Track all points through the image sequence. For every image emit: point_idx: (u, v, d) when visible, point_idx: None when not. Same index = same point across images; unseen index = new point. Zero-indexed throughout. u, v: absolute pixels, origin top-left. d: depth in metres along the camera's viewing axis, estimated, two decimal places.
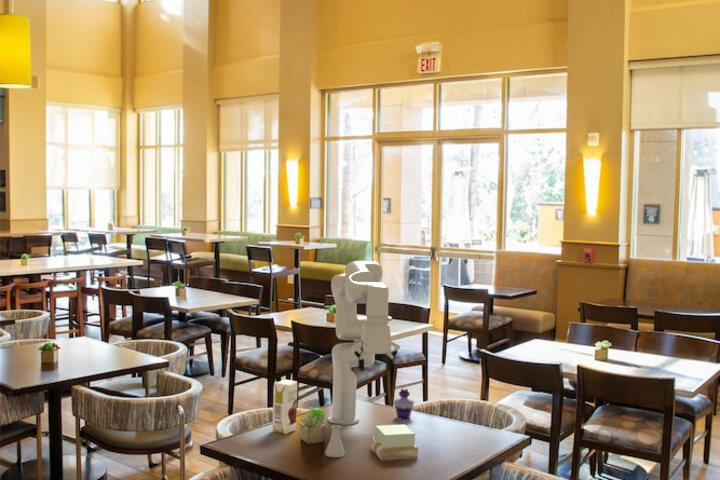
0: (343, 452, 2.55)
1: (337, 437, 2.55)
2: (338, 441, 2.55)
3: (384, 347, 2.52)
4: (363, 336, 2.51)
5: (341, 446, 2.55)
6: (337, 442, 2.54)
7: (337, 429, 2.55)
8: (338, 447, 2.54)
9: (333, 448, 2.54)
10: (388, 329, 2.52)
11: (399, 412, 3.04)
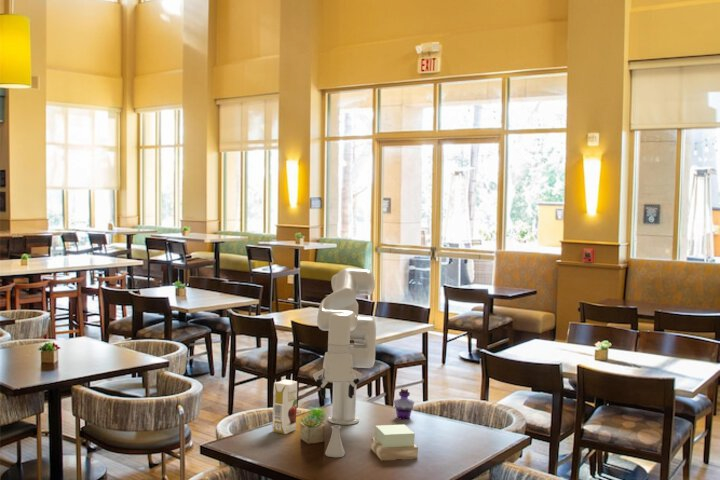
0: (343, 452, 2.55)
1: (337, 437, 2.55)
2: (338, 441, 2.55)
3: (346, 375, 2.53)
4: (325, 364, 2.53)
5: (341, 446, 2.55)
6: (337, 442, 2.54)
7: (337, 429, 2.55)
8: (338, 447, 2.54)
9: (333, 448, 2.54)
10: (350, 357, 2.54)
11: (399, 412, 3.04)
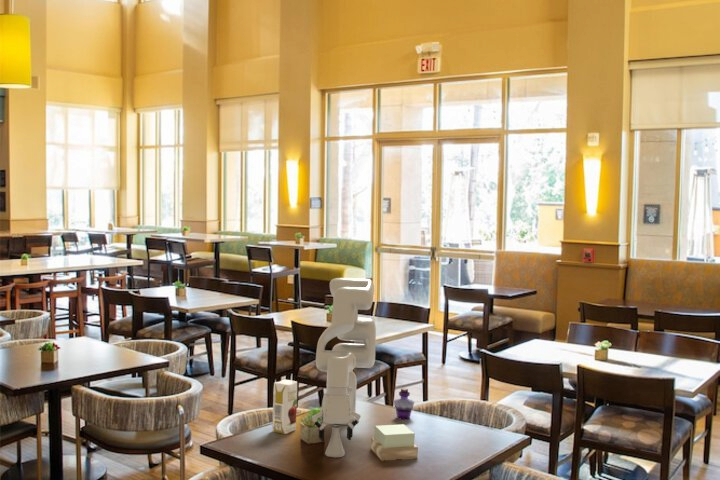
0: (343, 452, 2.55)
1: (337, 437, 2.55)
2: (338, 441, 2.55)
3: (344, 417, 2.54)
4: (323, 406, 2.53)
5: (341, 446, 2.55)
6: (337, 442, 2.54)
7: (337, 429, 2.55)
8: (338, 447, 2.54)
9: (333, 448, 2.54)
10: (348, 399, 2.54)
11: (399, 412, 3.04)
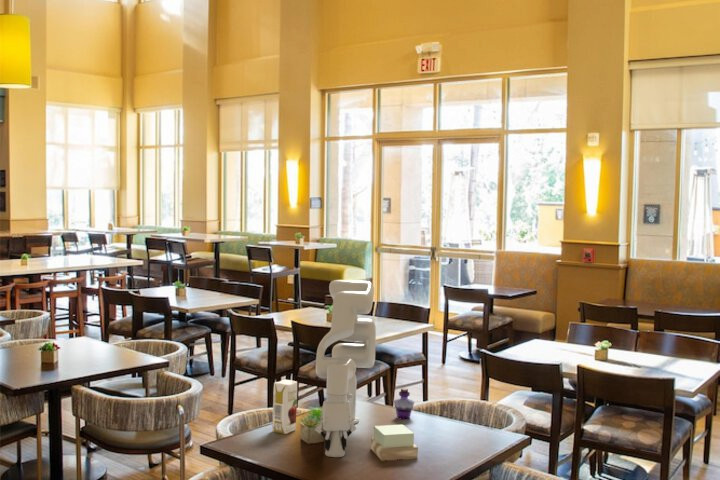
0: (343, 452, 2.55)
1: (337, 437, 2.55)
2: (338, 441, 2.55)
3: (344, 424, 2.54)
4: (323, 414, 2.54)
5: (341, 446, 2.55)
6: (337, 442, 2.54)
7: None
8: (338, 447, 2.54)
9: (333, 448, 2.54)
10: (348, 406, 2.55)
11: (399, 412, 3.04)
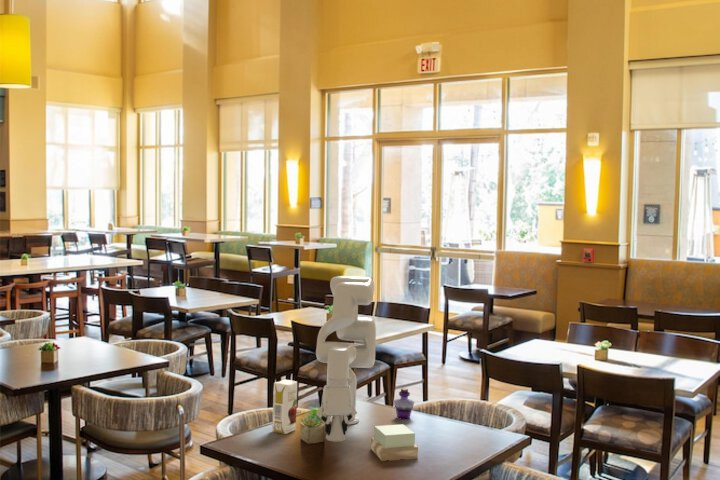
0: (344, 436, 2.56)
1: (338, 421, 2.55)
2: (339, 425, 2.55)
3: (345, 409, 2.55)
4: (324, 398, 2.54)
5: (342, 430, 2.56)
6: (338, 427, 2.55)
7: None
8: (339, 431, 2.55)
9: (334, 432, 2.54)
10: (349, 391, 2.55)
11: (399, 412, 3.04)
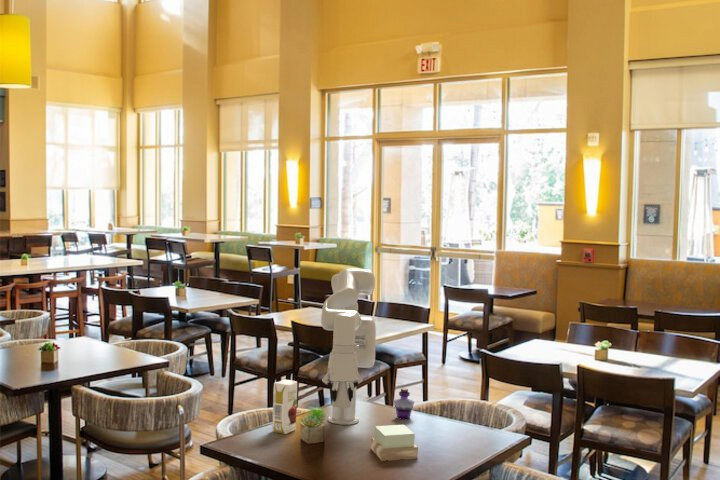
0: (349, 403, 2.55)
1: (344, 388, 2.54)
2: (345, 392, 2.54)
3: (351, 375, 2.54)
4: (330, 364, 2.53)
5: (348, 397, 2.55)
6: (344, 393, 2.54)
7: None
8: (345, 398, 2.54)
9: (340, 398, 2.54)
10: (355, 357, 2.54)
11: (399, 412, 3.04)
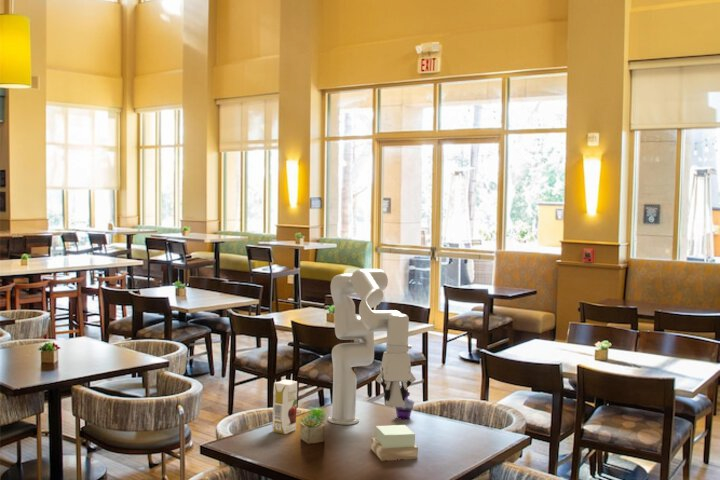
0: (403, 402, 2.58)
1: (397, 387, 2.58)
2: (398, 391, 2.57)
3: (404, 375, 2.57)
4: (383, 364, 2.57)
5: (401, 396, 2.58)
6: (397, 392, 2.57)
7: None
8: (398, 397, 2.57)
9: (394, 398, 2.57)
10: (408, 357, 2.58)
11: (399, 412, 3.04)
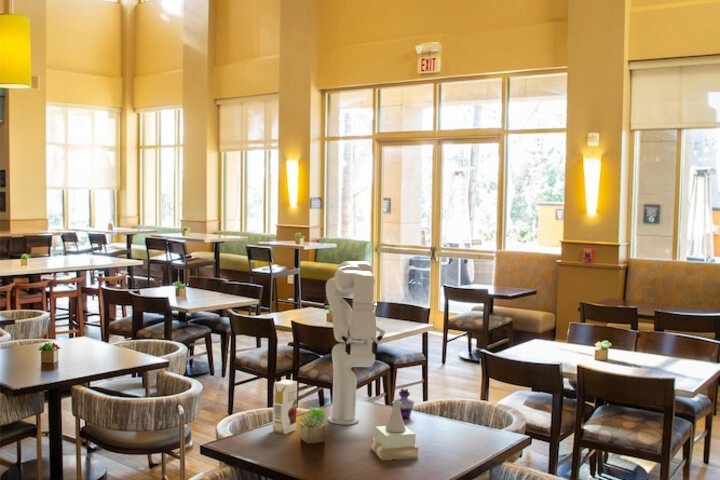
0: (404, 427, 2.58)
1: (398, 412, 2.58)
2: (399, 416, 2.58)
3: (370, 332, 2.66)
4: (350, 322, 2.65)
5: (402, 421, 2.58)
6: (398, 418, 2.58)
7: (398, 405, 2.58)
8: (399, 422, 2.57)
9: (394, 423, 2.57)
10: (373, 315, 2.66)
11: None
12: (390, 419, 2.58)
